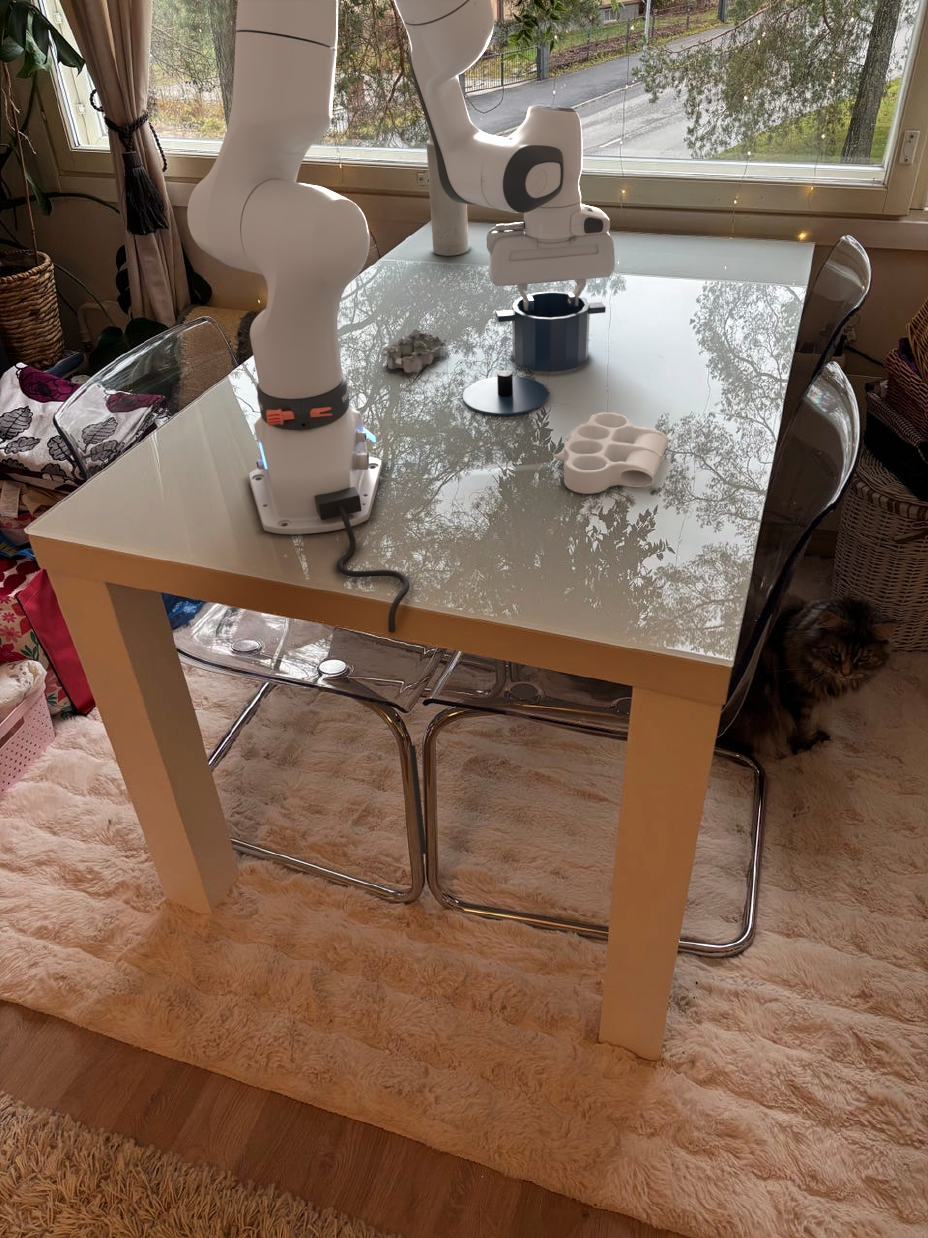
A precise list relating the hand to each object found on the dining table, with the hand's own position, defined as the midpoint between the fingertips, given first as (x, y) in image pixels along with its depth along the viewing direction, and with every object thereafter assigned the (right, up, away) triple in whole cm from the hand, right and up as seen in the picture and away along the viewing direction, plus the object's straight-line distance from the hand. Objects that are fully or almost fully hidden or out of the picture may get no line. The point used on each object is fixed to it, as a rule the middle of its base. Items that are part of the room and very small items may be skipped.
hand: (550, 307), depth 154 cm
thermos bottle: (-17, +31, +55) cm, 65 cm away
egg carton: (-23, -7, +7) cm, 25 cm away
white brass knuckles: (+6, -30, -23) cm, 38 cm away
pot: (0, -7, +6) cm, 9 cm away
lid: (-8, -16, -6) cm, 19 cm away
